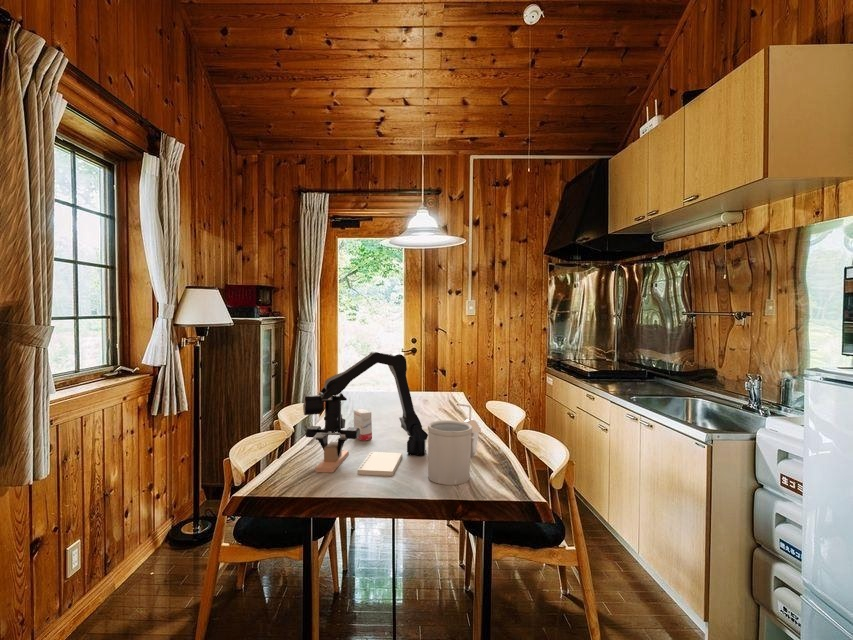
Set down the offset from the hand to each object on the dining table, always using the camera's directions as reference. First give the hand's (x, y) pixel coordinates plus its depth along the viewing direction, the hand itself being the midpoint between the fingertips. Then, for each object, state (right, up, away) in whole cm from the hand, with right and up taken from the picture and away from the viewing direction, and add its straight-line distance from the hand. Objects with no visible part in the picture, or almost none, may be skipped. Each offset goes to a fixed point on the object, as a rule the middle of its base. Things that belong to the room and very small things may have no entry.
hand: (332, 455), depth 169 cm
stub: (0, -2, 0) cm, 2 cm away
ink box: (+6, -2, +33) cm, 33 cm away
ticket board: (+18, -3, -2) cm, 18 cm away
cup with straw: (+50, -3, +11) cm, 51 cm away
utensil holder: (+41, -4, -14) cm, 44 cm away
